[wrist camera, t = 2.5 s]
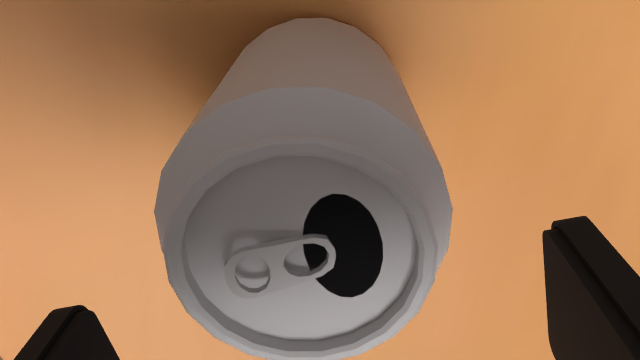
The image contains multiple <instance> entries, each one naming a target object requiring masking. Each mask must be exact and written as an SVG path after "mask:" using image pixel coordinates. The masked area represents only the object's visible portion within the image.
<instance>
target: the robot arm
mask: <svg viewBox="0 0 640 360" xmlns="http://www.w3.org/2000/svg"><path fill="white" fill-rule="evenodd" d="M543 254H544V270H545V286H546V302H547V318H548V335H549V342H550V346H551V349H552V352H553V355H554V357H555V359H556V360H640V277H639V276H638V274H637V273H636V272H635V271H634V270H633V269H632V268H631V266H630V265H629V264H628V263H627V262H626V261H625V260H624V258H623V257H622V256H621V255H620V254H619V253H618V252H617V250H616V249H615V248H614V247H613V246H612V245H611V244H610V242H609V241H608V240H607V239H606V238H605V237H604V236H603V234H602V233H601V232H600V231H599V230H598V229H597V228H596V226H595V225H594V224H593V223H592V222H591V221H590V220H589V219H588V218H587V217H586V216H580V217H574V218H569V219H563V220H557V221H554V222H553V223H552V226H551V230H545V231H543ZM14 360H120V359H119V357H118V355H117V353H116V352H115V350H114V348H113V346H112V344H111V342H110V340H109V339H108V337H107V335H106V333H105V331H104V329H103V327H102V326H101V324H100V322H99V320H98V318H97V316H96V315H95V313H94V312H92V311H90V310H88V309H87V308H86V307H84V306H82V305H77V306H71V307H65V308H60V309H55V310H53V311H52V312H50V313H49V315H48V316H47V317H46V318H45V320H44V321H43V322H42V324H41V325H40V326H39V327H38V329H37V330H36V331H35V333H34V334H33V335H32V337H31V338H30V339H29V340H28V342H27V343H26V344H25V346H24V347H23V348H22V349H21V351H20V352H19V353H18V355H17V356H16V357H15V359H14Z"/></svg>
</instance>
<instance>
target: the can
mask: <svg viewBox="0 0 640 360" xmlns="http://www.w3.org/2000/svg"><path fill="white" fill-rule="evenodd" d="M452 210H453V208H452V205H451V201H450V197H449V193H448V190H447V186H446V182H445V178H444V175H443V171H442V167H441V165H440V163H439V161H438V159H437V157H436V154H435V152H434V150H433V148H432V146H431V144H430V141H429V139H428V137H427V135H426V133H425V131H424V128H423V126H422V124H421V122H420V120H419V117H418V115H417V113H416V111H415V109H414V107H413V104H412V102H411V100H410V98H409V96H408V94H407V91H406V89H405V87H404V85H403V83H402V80H401V78H400V76H399V74H398V72H397V70H396V68H395V66H394V65H393V63H392V62H391V61H390V59H389V58H388V56H387V55H386V53H385V52H384V50H383V49H382V48H381V46H380V45H379V44H378V43H377V42H375V41H374V40H373V39H371V38H370V37H368V36H367V35H366V34H364V33H363V32H362V31H360V30H359V29H358V28H356V27H354V26H351V25H348V24H345V23H341V22H338V21H335V20H332V19H329V18H296V19H293V20H290V21H288V22H285V23H282V24H279V25H276V26H274V27H271V28H268V29H267V30H266V31H264V32H263V33H262V34H261V35H259V36H258V37H257V38H256V39H254V40H253V41H252V42H251V43H249V44H248V45H247V46H246V47H245V48H244V49H243V51H242V52H241V54H240V55H239V57H238V58H237V59H236V61H235V62H234V64H233V65H232V67H231V68H230V69H229V71H228V72H227V74H226V75H225V76H224V78H223V79H222V81H221V82H220V84H219V85H218V86H217V88H216V89H215V91H214V92H213V94H212V95H211V96H210V98H209V99H208V101H207V102H206V104H205V105H204V106H203V108H202V109H201V111H200V112H199V114H198V115H197V116H196V118H195V119H194V121H193V122H192V124H191V125H190V126H189V128H188V129H187V131H186V132H185V134H184V135H183V137H182V138H181V140H180V142H179V143H178V145H177V147H176V148H175V150H174V151H173V153H172V155H171V156H170V158H169V159H168V161H167V163H166V164H165V166H164V168H163V169H162V171H161V176H160V182H159V187H158V193H157V199H156V204H155V210H154V213H155V218H156V223H157V229H158V234H159V239H160V244H161V249H162V252H163V254H164V258H165V263H166V269H167V274H168V279H169V283H170V284H171V286H172V288H173V289H174V291H175V293H176V295H177V296H178V298H179V300H180V301H181V303H182V305H183V306H184V308H185V310H186V311H187V313H188V314H189V315H190V316H191V317H193V318H194V319H195V320H196V321H197V322H198V323H199V324H200V325H201V326H203V327H204V328H205V329H206V330H207V331H208V332H209V333H210V334H211V335H213V336H214V337H215V338H217V339H219V340H221V341H223V342H225V343H227V344H229V345H231V346H233V347H234V348H236V349H238V350H240V351H242V352H244V353H246V354H248V355H252V356H257V357H261V358H265V359H270V360H339V359H343V358H348V357H352V356H356V355H360V354H362V353H364V352H366V351H368V350H370V349H372V348H373V347H375V346H377V345H379V344H381V343H383V342H385V341H387V340H388V339H390V338H392V337H394V336H395V335H396V334H397V333H398V332H399V331H400V330H401V329H402V328H403V327H404V326H405V325H406V324H407V323H408V322H409V321H410V320H411V319H412V318H413V317H414V316H415V315H416V314H417V313H418V312H419V310H420V308H421V306H422V304H423V302H424V300H425V299H426V297H427V295H428V293H429V291H430V289H431V287H432V285H433V283H434V281H435V274H436V272H437V270H438V268H439V266H440V264H441V262H442V260H443V258H444V256H445V254H446V252H447V250H448V246H449V237H450V228H451V219H452Z"/></svg>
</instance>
